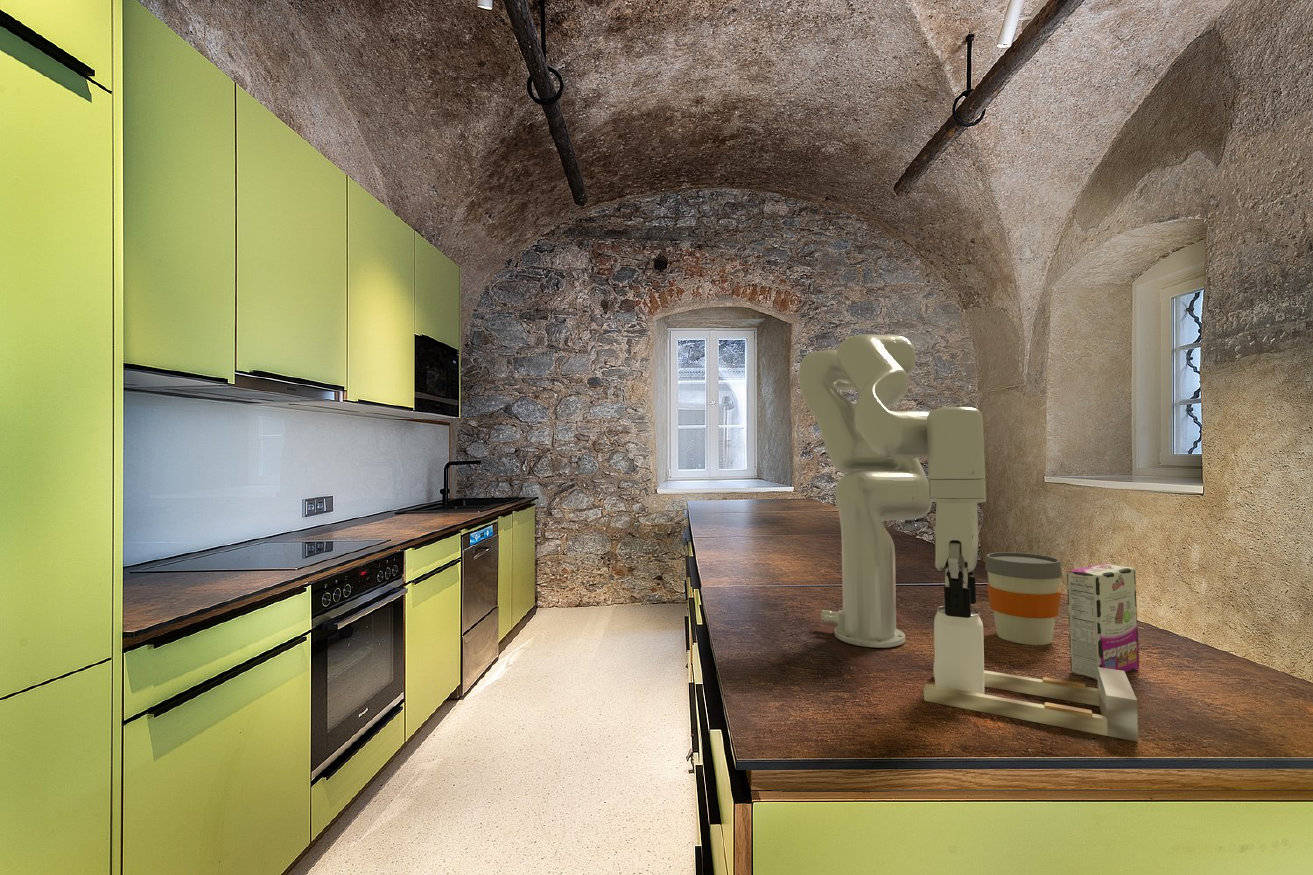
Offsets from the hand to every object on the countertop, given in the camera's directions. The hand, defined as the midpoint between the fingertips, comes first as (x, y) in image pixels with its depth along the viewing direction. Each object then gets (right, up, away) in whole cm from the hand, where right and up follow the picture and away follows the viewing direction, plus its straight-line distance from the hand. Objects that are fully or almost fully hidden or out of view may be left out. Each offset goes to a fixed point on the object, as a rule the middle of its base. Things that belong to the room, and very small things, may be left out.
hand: (961, 609), depth 89 cm
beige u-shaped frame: (+6, -12, -3) cm, 14 cm away
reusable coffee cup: (+25, -13, +26) cm, 38 cm away
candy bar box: (+27, -13, +9) cm, 31 cm away
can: (0, -13, 0) cm, 13 cm away
